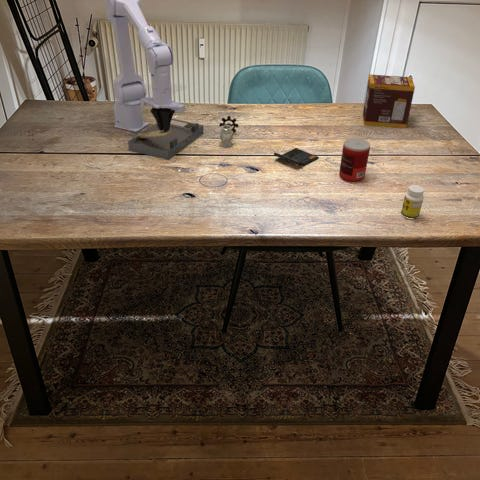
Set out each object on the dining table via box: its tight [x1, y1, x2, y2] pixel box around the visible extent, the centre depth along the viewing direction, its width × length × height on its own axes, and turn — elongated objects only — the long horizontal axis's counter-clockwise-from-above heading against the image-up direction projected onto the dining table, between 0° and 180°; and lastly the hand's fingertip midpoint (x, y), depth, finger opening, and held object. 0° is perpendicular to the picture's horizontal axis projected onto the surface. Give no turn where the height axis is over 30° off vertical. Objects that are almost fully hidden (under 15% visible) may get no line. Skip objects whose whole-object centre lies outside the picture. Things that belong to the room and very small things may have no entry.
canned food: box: [338, 137, 371, 183], centre depth 158 cm, size 8×8×11 cm
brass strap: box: [137, 129, 172, 139], centre depth 170 cm, size 12×3×1 cm, turn 65°
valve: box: [218, 115, 239, 149], centre depth 178 cm, size 7×7×12 cm
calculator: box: [273, 147, 320, 168], centre depth 169 cm, size 9×12×3 cm
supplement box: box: [362, 73, 416, 129], centre depth 193 cm, size 10×15×16 cm
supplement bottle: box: [400, 184, 425, 219], centre depth 141 cm, size 5×5×8 cm
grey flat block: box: [127, 118, 204, 161], centre depth 177 cm, size 15×23×5 cm, turn 155°
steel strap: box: [170, 120, 194, 131], centre depth 181 cm, size 12×3×1 cm, turn 65°
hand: (164, 130), depth 167 cm, fingers closed
